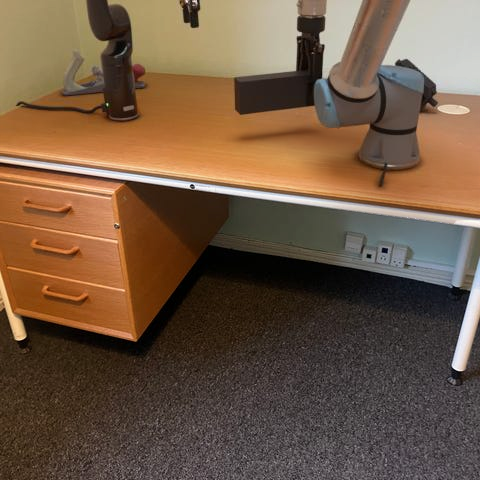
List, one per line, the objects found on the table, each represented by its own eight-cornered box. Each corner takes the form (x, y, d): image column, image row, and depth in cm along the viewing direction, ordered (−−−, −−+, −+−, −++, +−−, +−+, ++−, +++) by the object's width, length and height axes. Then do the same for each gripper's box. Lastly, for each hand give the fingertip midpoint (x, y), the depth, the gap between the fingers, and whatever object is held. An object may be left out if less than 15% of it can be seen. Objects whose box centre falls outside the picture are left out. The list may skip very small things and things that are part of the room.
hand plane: (62, 90, 197) (53, 48, 189) (145, 82, 205) (140, 41, 197) (62, 96, 191) (54, 53, 184) (148, 87, 199) (143, 45, 191)
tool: (377, 89, 181) (403, 52, 170) (419, 126, 177) (449, 91, 166) (368, 93, 177) (394, 56, 166) (411, 131, 173) (441, 96, 162)
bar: (313, 100, 156) (315, 68, 152) (320, 105, 152) (322, 73, 147) (234, 109, 150) (234, 77, 146) (240, 115, 146) (239, 81, 141)
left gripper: (166, -43, 141) (172, 22, 150) (176, -40, 129) (183, 30, 138) (193, -45, 143) (198, 20, 151) (206, -42, 131) (211, 28, 140)
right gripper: (285, 11, 147) (283, 94, 160) (312, 22, 133) (308, 113, 145) (310, 9, 149) (306, 92, 161) (339, 19, 134) (333, 109, 147)
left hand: (191, 25), depth 145 cm, fingers open, 8 cm apart
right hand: (307, 101), depth 153 cm, fingers closed on bar, 5 cm apart
